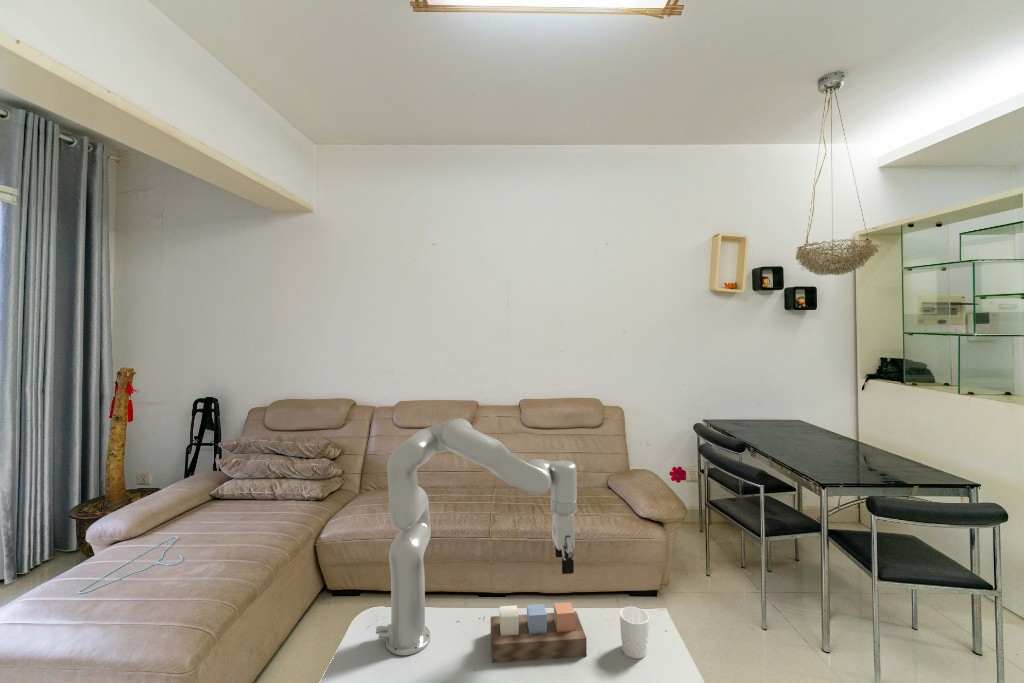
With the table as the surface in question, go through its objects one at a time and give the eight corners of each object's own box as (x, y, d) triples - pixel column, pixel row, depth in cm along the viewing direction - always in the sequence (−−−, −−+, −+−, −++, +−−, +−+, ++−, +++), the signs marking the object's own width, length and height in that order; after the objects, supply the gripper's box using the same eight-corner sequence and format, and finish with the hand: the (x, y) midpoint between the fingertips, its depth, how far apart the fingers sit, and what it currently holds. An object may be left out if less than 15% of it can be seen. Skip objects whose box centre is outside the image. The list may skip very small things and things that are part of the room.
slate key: (529, 636, 123) (529, 615, 123) (527, 625, 128) (526, 604, 128) (546, 635, 123) (546, 614, 123) (543, 624, 128) (543, 603, 128)
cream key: (500, 638, 122) (500, 617, 122) (499, 627, 127) (499, 606, 127) (518, 637, 123) (518, 616, 123) (516, 626, 128) (516, 605, 128)
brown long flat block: (492, 662, 118) (492, 644, 118) (490, 633, 130) (490, 616, 130) (586, 656, 121) (586, 638, 121) (576, 627, 133) (576, 611, 133)
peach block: (557, 635, 124) (557, 613, 124) (554, 623, 129) (553, 603, 129) (574, 633, 124) (574, 612, 124) (570, 622, 129) (570, 602, 129)
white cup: (650, 645, 125) (650, 610, 125) (646, 664, 118) (646, 627, 118) (622, 637, 128) (622, 603, 128) (617, 655, 121) (617, 619, 121)
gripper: (545, 495, 135) (546, 551, 135) (556, 517, 118) (557, 582, 118) (569, 494, 136) (570, 549, 136) (584, 516, 118) (584, 580, 118)
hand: (564, 564), depth 127 cm, fingers open, 8 cm apart
